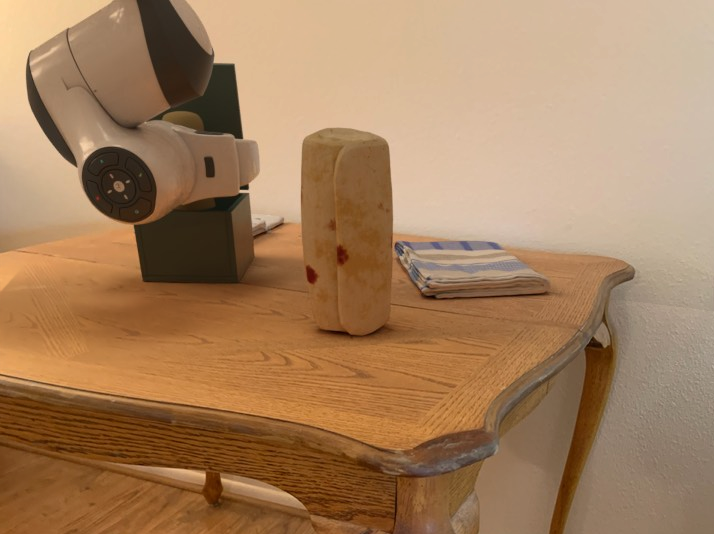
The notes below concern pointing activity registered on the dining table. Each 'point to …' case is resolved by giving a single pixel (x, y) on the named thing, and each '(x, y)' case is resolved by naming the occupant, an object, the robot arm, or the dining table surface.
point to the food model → (347, 228)
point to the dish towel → (467, 269)
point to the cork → (194, 123)
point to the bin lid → (217, 104)
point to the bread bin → (198, 243)
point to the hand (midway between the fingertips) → (187, 150)
